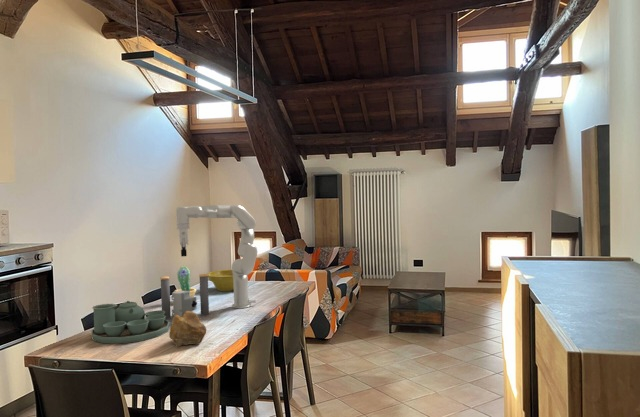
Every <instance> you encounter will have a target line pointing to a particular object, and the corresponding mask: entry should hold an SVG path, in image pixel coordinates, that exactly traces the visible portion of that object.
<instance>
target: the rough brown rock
mask: <svg viewBox="0 0 640 417" xmlns="http://www.w3.org/2000/svg"><path fill="white" fill-rule="evenodd" d="M169 328H170V329H169V338H170V339H171V340H172V341H173V344H174V345H175V346H176V347H180V346H183V345H184V346H187V345H189V344H192V345H197V346H198V345H199V344H201V343H202V341H203V339H204V337H205V336H206V335H207V327H206V325H204V324H203V323H202V321H201V319H200V318H199V316H198V315H197V313H196V312H194V311H186V312H184V314H183V316H182V317H180V316H178V315H175V316H174V317H172V321H171V325H170V327H169Z"/></svg>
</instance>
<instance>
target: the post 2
mask: <svg viewBox="0 0 640 417" xmlns="http://www.w3.org/2000/svg"><path fill="white" fill-rule="evenodd" d="M198 276H199V300H200V301H199V302H200V316H208V315H210V305H209V304H210V302H209V278H208V274H207V273H201V274H199V275H198Z"/></svg>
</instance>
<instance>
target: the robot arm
mask: <svg viewBox="0 0 640 417" xmlns="http://www.w3.org/2000/svg"><path fill="white" fill-rule="evenodd" d="M175 211H176V212H175V213H176V214H175V215H176V216H175V217H176V230H178V237H179V238H178V239H179V244H180V246H181V249H180V256H181V257H187V256H188V254H187V253H188V252H187V246H188V245H189V229H190V218H191V219H193V218H194V219H198V218H199V219H200V218H209V219H236V220H237V221H236V224H237V226H238V228H239V229H240V231H241V237H240V240H239V245H238V248H237V254H238V256H239V257H241V258H236V259H235V260H234V261H233V262H232V265H231V270H232V272H233V281H234V290H233V304H232V305H231V308H233V309H245V308H250V307H251V306H252V304H255V303H256V299H250V298H249V278H248V275H251V273H252V272H253V270H254V269H255V264H256V260H257V256H258V248H257V247H256V245H255V244H254V239H255V231H254V228H255V227H256V226H257V222H256V219H255V218H254V217H253V216H252V214H250V212H249V211H247V209H245V208H244V207H243V206H241V205H240V204H212V205H190V206H177V207H176V210H175Z"/></svg>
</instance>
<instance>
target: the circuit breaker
mask: <svg viewBox="0 0 640 417" xmlns="http://www.w3.org/2000/svg"><path fill="white" fill-rule="evenodd" d="M171 301H172V307H173V309H172V310H171V315H172V318H174V316H175V315H178V316H180V317H182V316H183V314H184V312H186V311H192V312H194V311H195V310H197V305H198V302H197V297H196V296H194V297H190V291H176V292H174V291H173V292H172V293H171Z"/></svg>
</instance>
